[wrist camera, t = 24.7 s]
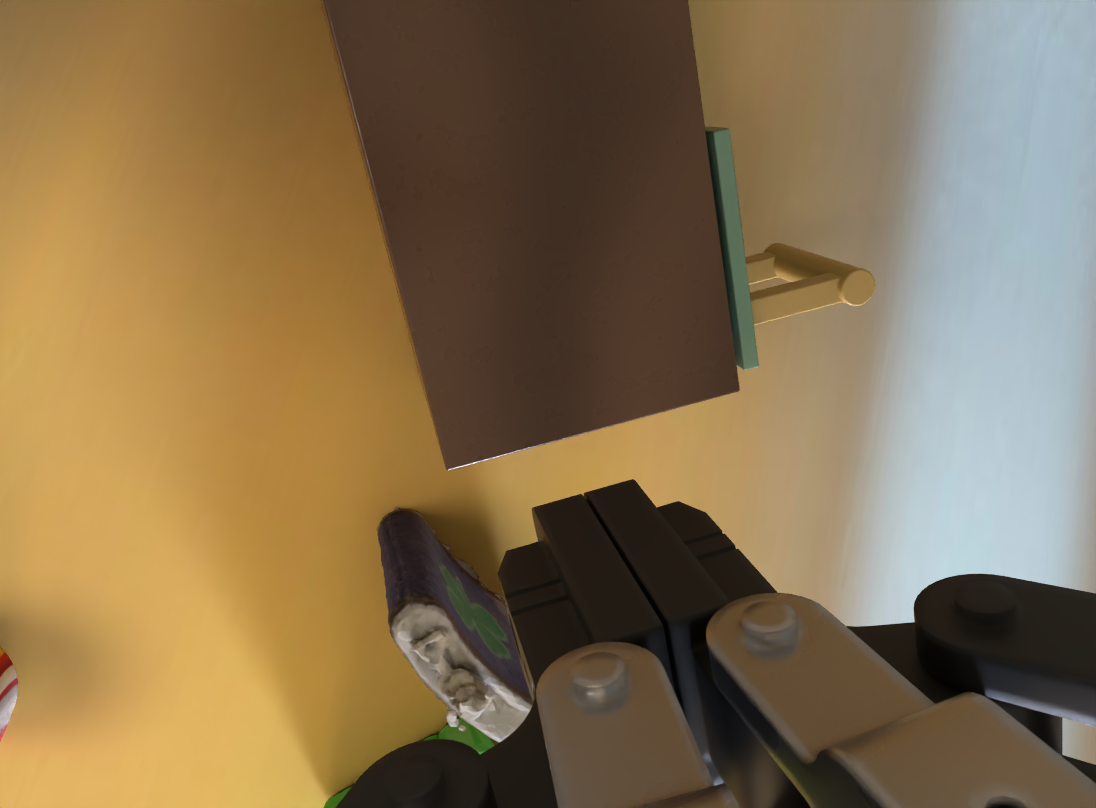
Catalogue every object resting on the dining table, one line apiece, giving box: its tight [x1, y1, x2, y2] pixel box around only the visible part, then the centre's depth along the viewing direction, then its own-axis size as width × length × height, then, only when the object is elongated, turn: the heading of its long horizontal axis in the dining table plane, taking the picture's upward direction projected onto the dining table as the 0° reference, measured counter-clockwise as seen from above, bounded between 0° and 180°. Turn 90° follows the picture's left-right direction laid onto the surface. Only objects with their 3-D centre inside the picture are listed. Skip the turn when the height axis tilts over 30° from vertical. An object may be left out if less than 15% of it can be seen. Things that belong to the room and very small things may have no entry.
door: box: [705, 127, 875, 370], centre depth 36 cm, size 6×9×10 cm
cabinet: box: [321, 0, 740, 470], centre depth 34 cm, size 12×18×11 cm
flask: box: [377, 507, 533, 743], centre depth 40 cm, size 9×3×11 cm, turn 37°
